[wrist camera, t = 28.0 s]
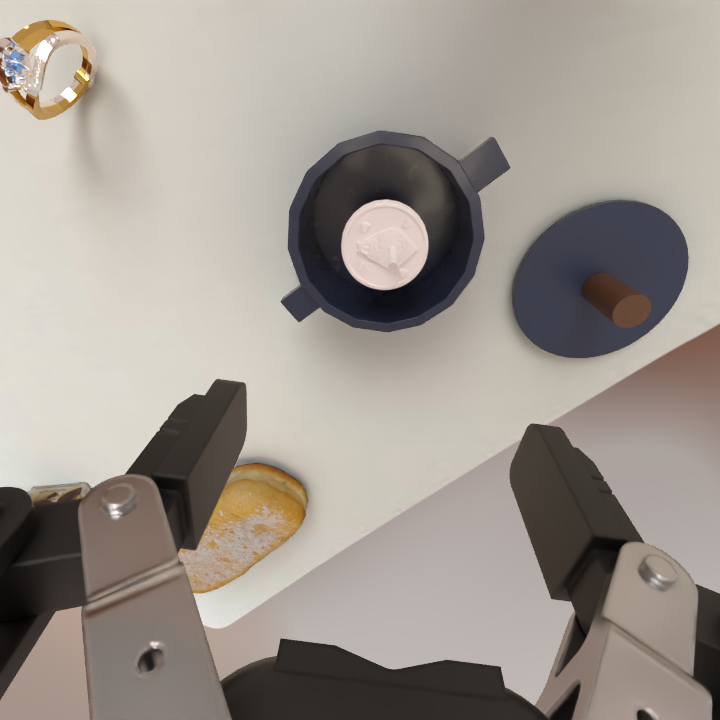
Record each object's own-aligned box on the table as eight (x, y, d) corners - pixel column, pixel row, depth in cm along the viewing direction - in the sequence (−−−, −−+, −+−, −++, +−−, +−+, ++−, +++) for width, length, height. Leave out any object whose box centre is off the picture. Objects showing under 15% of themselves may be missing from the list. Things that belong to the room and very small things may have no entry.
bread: (153, 531, 62) (124, 580, 56) (243, 437, 52) (221, 483, 45) (225, 568, 66) (207, 619, 59) (324, 488, 56) (315, 538, 49)
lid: (482, 267, 39) (500, 293, 33) (647, 159, 34) (706, 165, 27) (551, 376, 45) (578, 416, 38) (701, 299, 39) (761, 330, 33)
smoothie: (416, 257, 38) (430, 315, 26) (350, 255, 39) (333, 312, 27) (422, 185, 35) (442, 214, 23) (350, 184, 35) (332, 210, 23)
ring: (85, 128, 35) (10, 128, 28) (51, 96, 34) (-35, 87, 27) (127, 62, 32) (56, 43, 25) (92, 25, 31) (8, -6, 24)
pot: (255, 223, 38) (224, 245, 31) (433, 65, 31) (447, 44, 24) (349, 334, 44) (341, 375, 36) (518, 219, 37) (552, 241, 29)
